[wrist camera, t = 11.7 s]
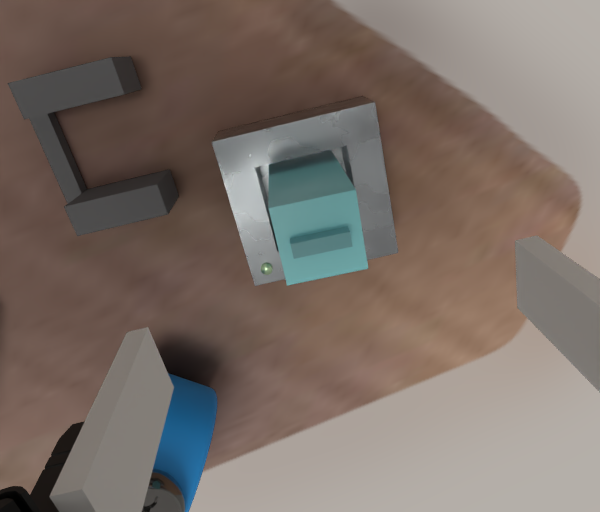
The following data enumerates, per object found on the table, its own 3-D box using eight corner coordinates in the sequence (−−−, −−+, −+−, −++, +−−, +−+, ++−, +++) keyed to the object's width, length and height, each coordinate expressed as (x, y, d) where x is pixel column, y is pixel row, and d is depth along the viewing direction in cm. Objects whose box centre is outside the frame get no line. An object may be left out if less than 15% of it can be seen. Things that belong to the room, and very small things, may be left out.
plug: (268, 163, 32) (268, 213, 22) (331, 150, 32) (358, 194, 22) (282, 222, 34) (287, 292, 24) (341, 209, 34) (371, 275, 24)
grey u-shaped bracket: (21, 83, 30) (-13, 88, 26) (130, 56, 30) (111, 57, 26) (82, 219, 34) (59, 240, 30) (179, 196, 33) (167, 214, 30)
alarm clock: (157, 331, 38) (93, 491, 24) (228, 357, 39) (206, 522, 25) (107, 444, 42) (29, 635, 28) (173, 464, 44) (129, 654, 30)
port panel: (218, 131, 32) (211, 142, 28) (362, 96, 31) (375, 102, 28) (256, 261, 36) (255, 287, 32) (385, 231, 35) (399, 253, 32)
